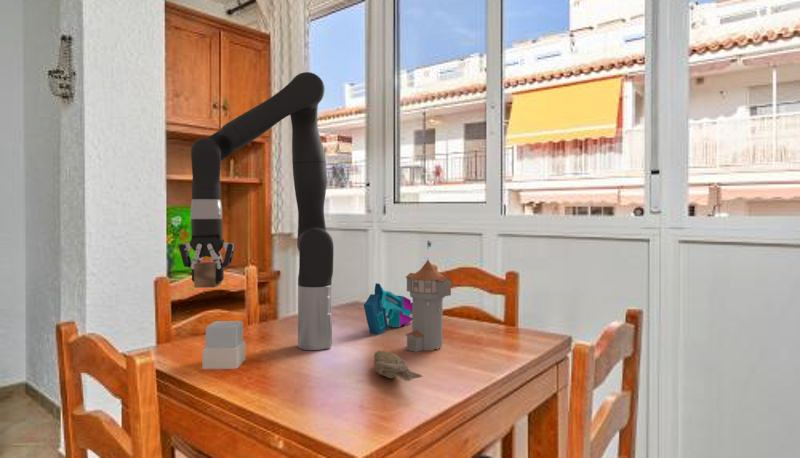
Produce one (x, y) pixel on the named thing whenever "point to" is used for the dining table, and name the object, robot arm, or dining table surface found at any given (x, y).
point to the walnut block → (205, 275)
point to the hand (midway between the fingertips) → (207, 283)
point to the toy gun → (386, 310)
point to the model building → (427, 307)
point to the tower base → (223, 357)
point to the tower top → (224, 334)
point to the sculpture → (392, 366)
